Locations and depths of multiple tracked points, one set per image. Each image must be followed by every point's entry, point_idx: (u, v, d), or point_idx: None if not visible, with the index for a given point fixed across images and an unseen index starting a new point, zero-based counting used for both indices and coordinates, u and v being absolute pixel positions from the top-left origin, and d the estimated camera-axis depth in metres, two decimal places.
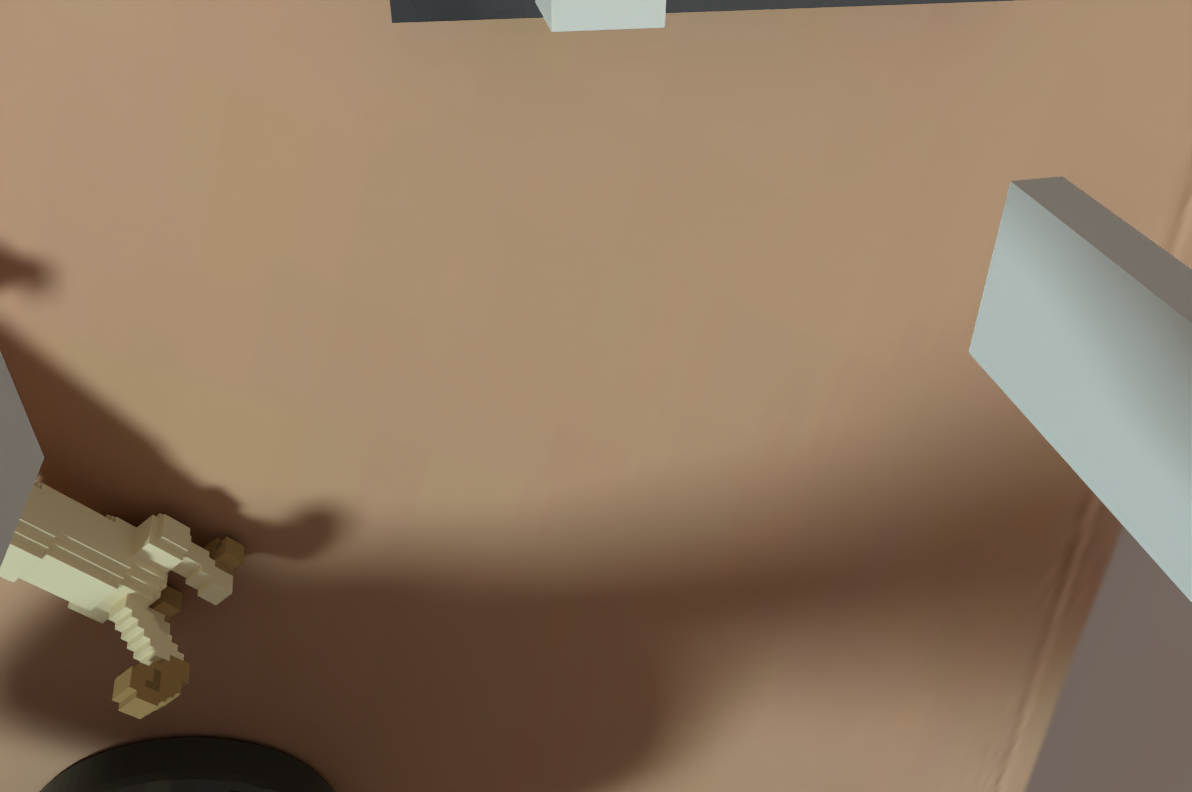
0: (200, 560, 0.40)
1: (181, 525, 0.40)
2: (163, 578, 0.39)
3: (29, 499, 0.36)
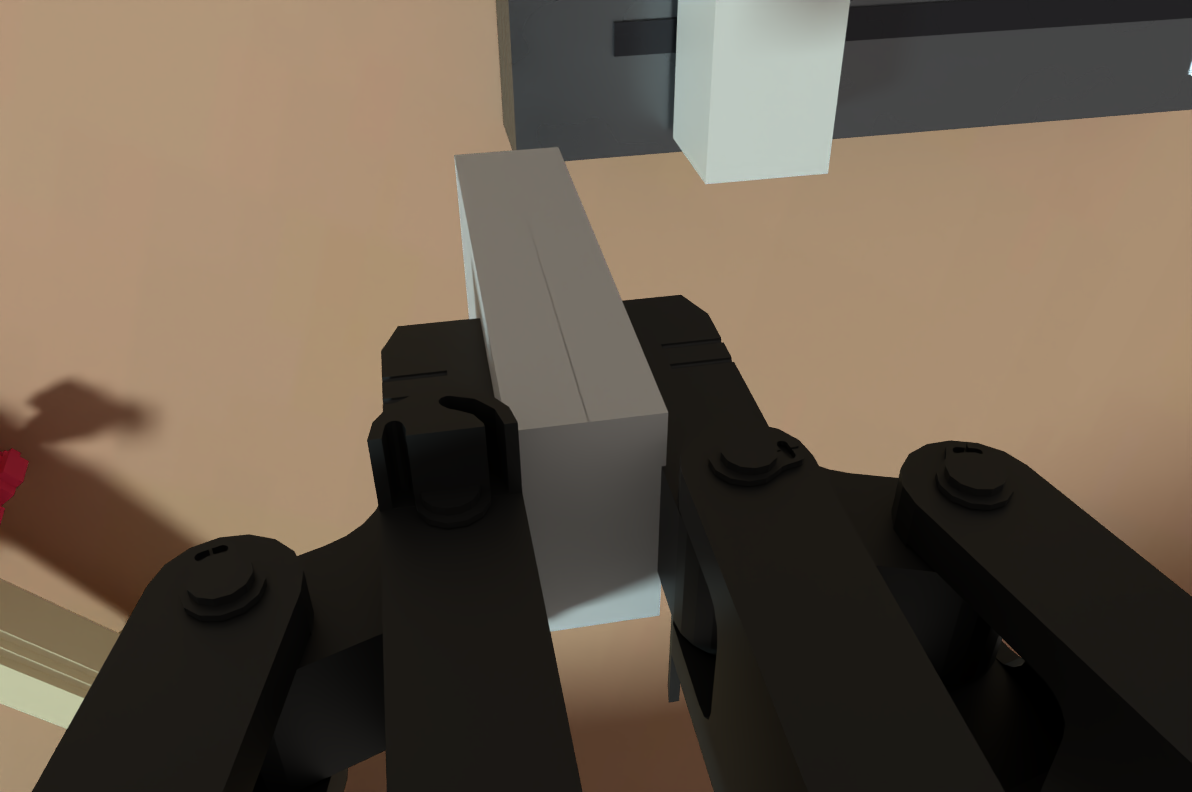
0: None
1: None
2: None
3: None
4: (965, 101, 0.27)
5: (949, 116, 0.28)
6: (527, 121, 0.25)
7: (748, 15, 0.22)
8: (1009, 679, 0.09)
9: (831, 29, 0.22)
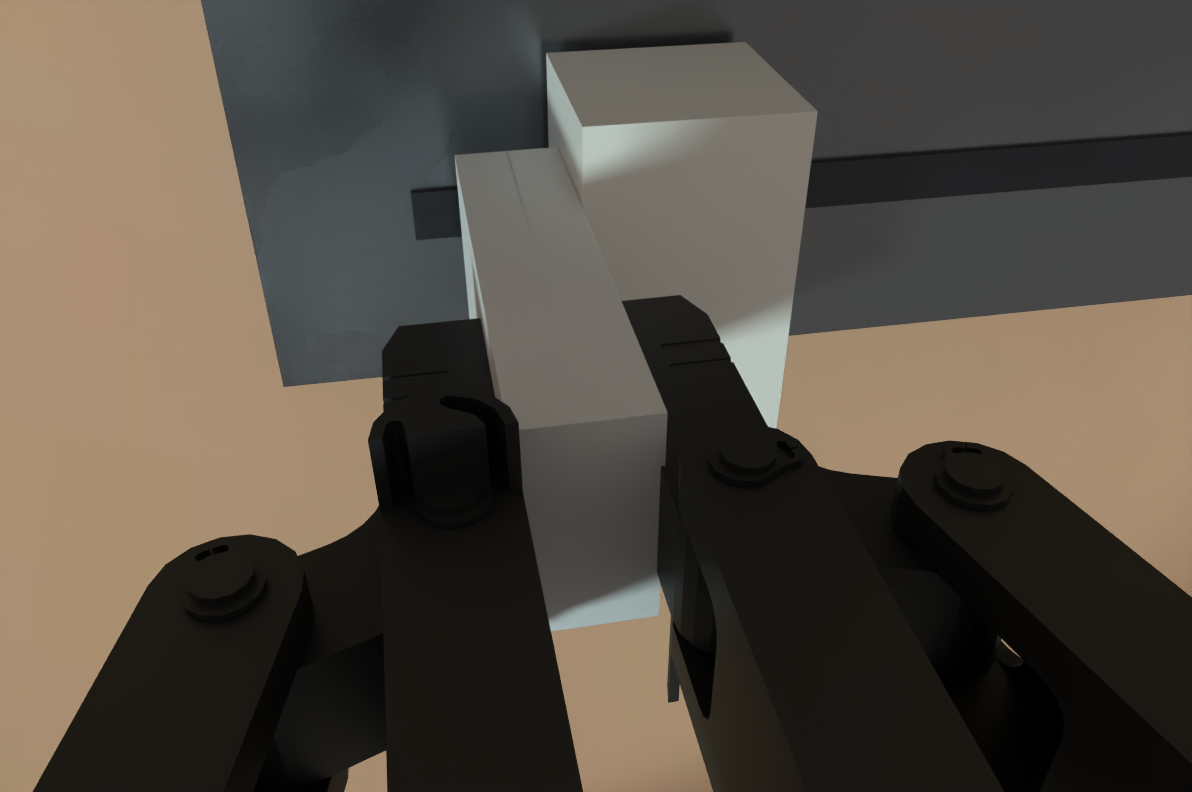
0: None
1: None
2: None
3: None
4: (953, 284, 0.19)
5: (930, 304, 0.19)
6: (291, 329, 0.17)
7: (638, 216, 0.13)
8: (1008, 679, 0.09)
9: (777, 233, 0.14)
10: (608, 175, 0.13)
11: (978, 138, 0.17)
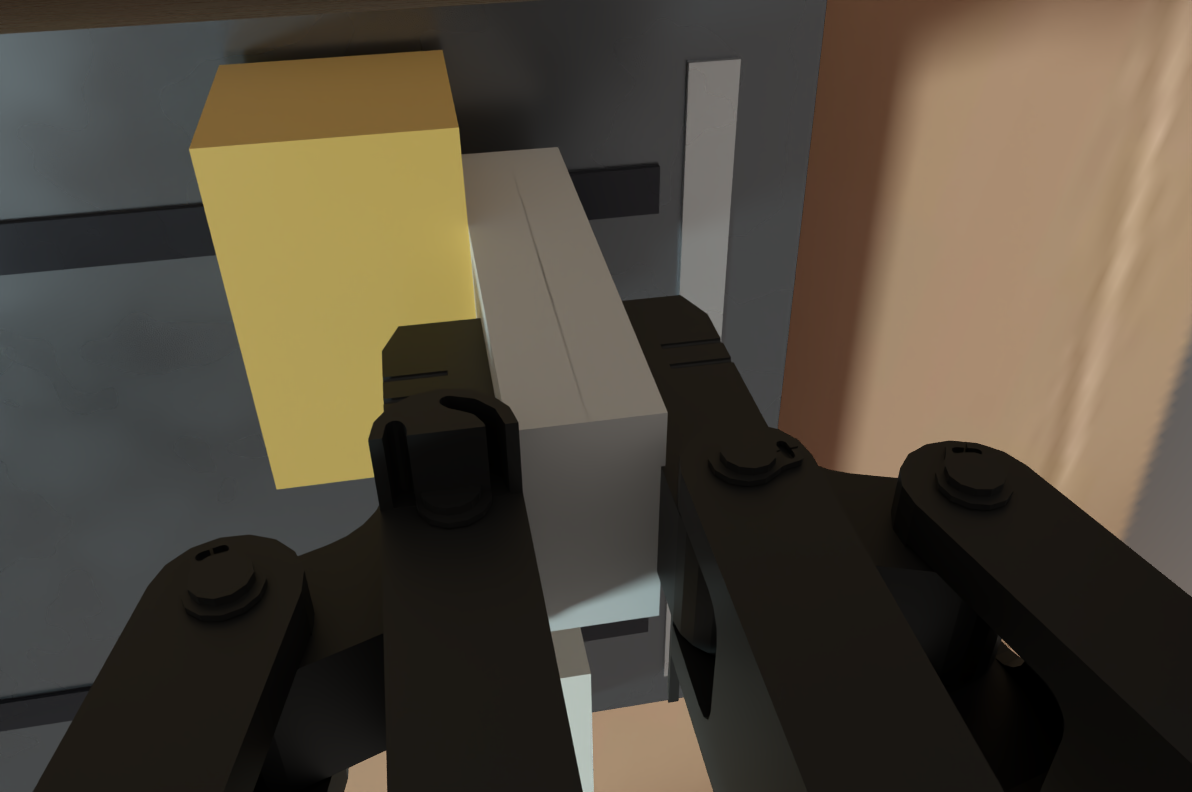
0: None
1: None
2: None
3: None
4: None
5: None
6: None
7: None
8: (1009, 679, 0.09)
9: (573, 735, 0.19)
10: None
11: None
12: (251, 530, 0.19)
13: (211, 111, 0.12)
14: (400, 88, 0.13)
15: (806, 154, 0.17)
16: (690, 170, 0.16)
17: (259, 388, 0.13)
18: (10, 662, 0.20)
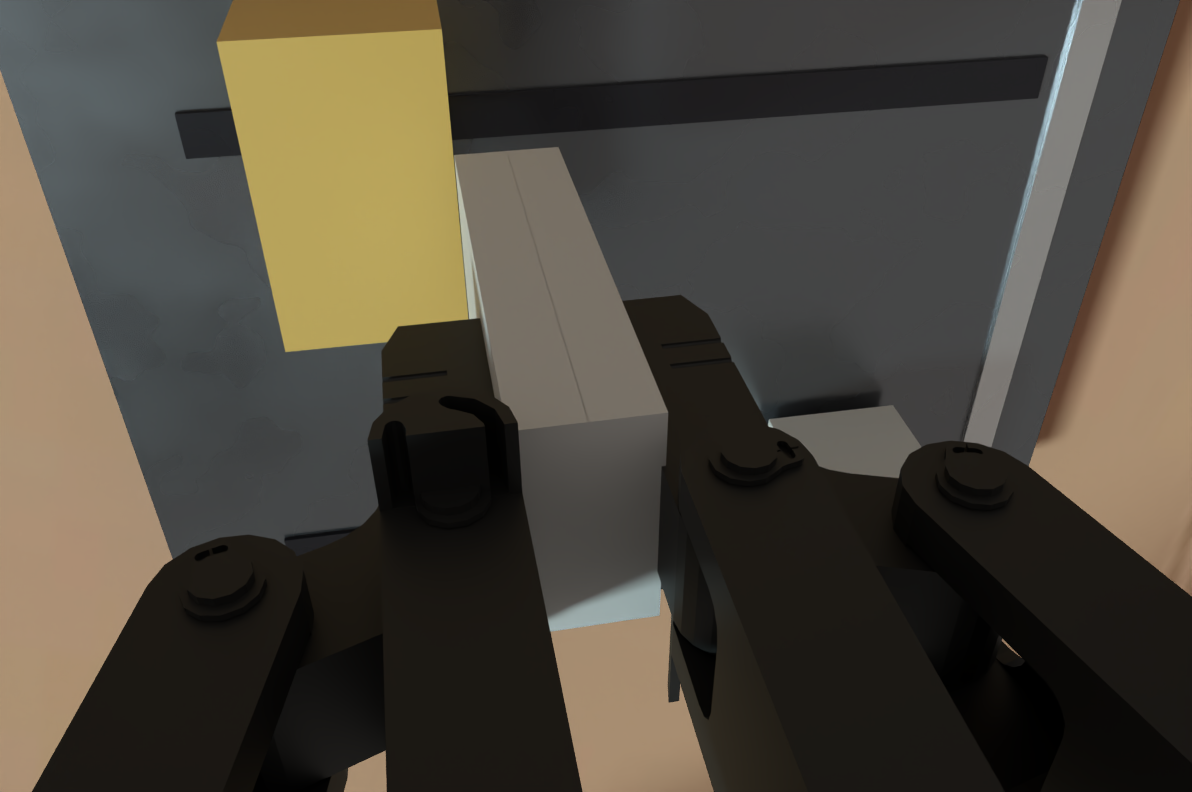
0: None
1: None
2: None
3: None
4: None
5: None
6: None
7: None
8: (1009, 679, 0.09)
9: None
10: None
11: None
12: None
13: (234, 16, 0.15)
14: (393, 1, 0.15)
15: (1160, 50, 0.20)
16: (1068, 61, 0.20)
17: (272, 258, 0.16)
18: None
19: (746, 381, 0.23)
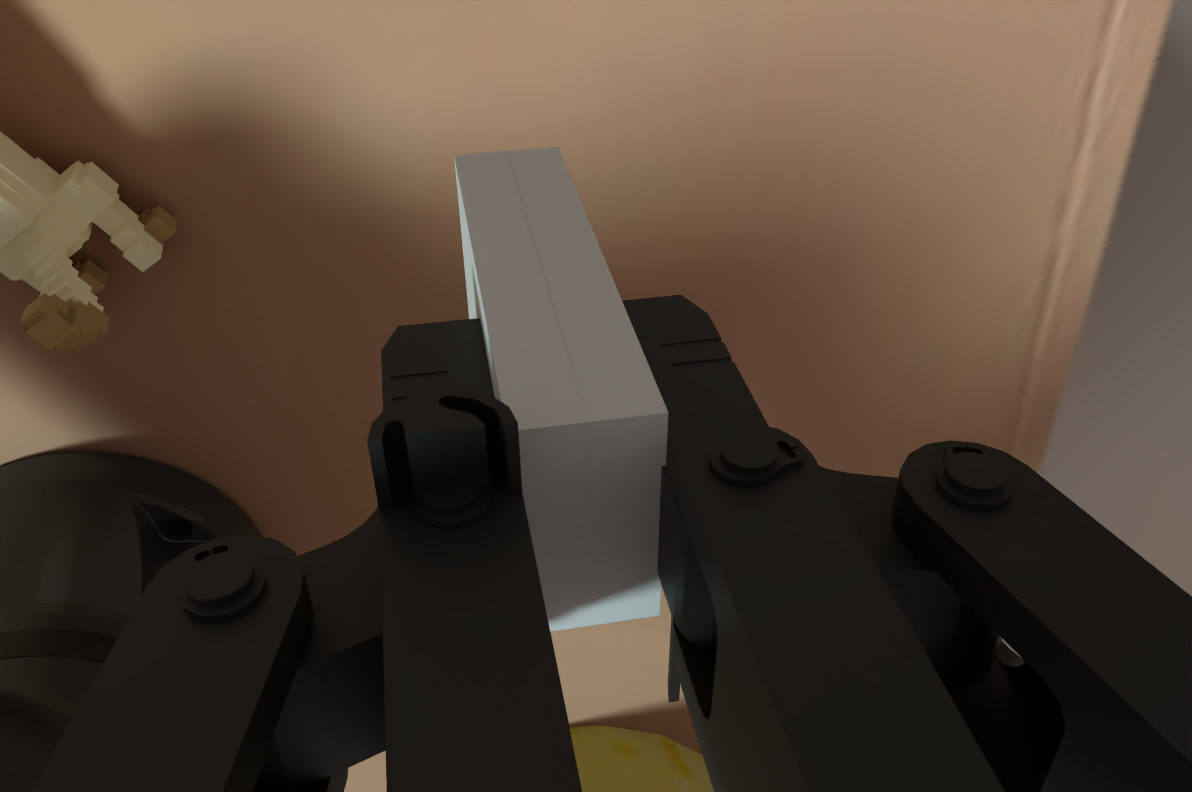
0: (128, 218, 0.37)
1: (109, 178, 0.37)
2: (85, 226, 0.36)
3: None
4: None
5: None
6: None
7: None
8: (1009, 679, 0.09)
9: None
10: None
11: None
12: None
13: None
14: None
15: None
16: None
17: None
18: None
19: None
